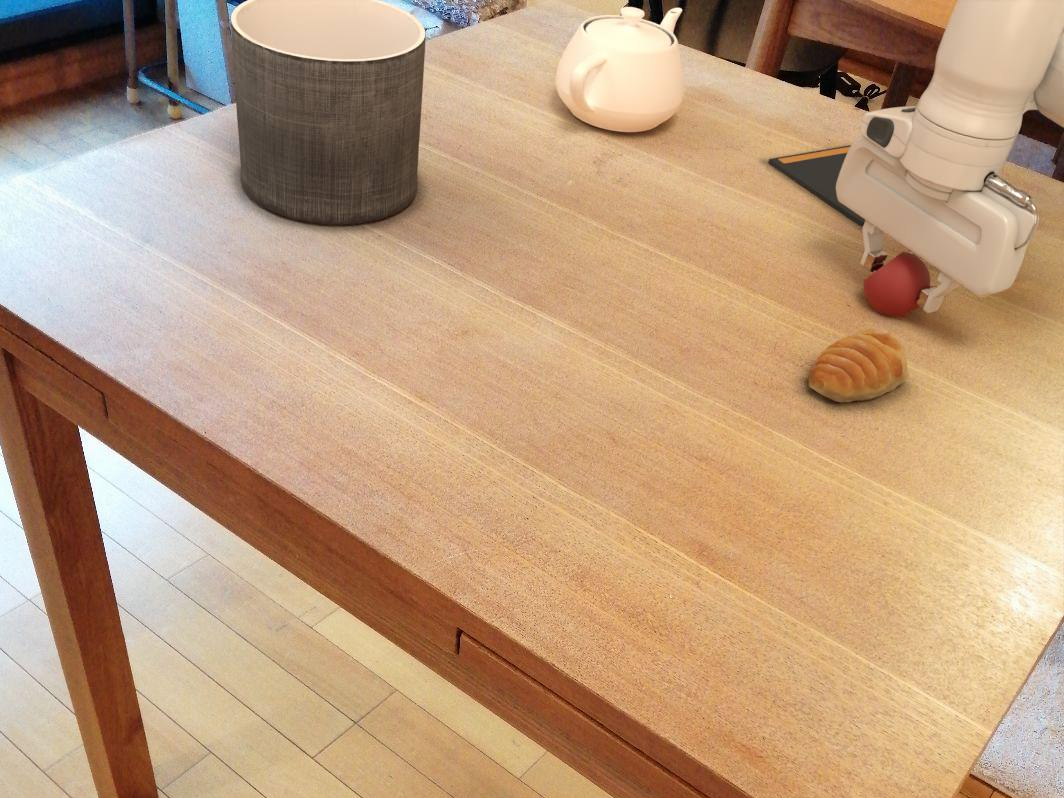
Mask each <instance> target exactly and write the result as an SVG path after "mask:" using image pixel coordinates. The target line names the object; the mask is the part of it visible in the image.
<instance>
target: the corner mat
mask: <svg viewBox="0 0 1064 798" xmlns="http://www.w3.org/2000/svg"><path fill="white" fill-rule="evenodd" d="M851 145H852V144H850V145H843V146H838V147H831V148H826V149H820V150H814V151H808V152H801V153H796V154H791V155H785V156H779V157H771V158H768V164H769V165H771V166H772V167H774V168H775V169H777V170H778V171H779V172H781V173H782V174H784V175H785V176H787V177H789V178H790V179H791V180H793V181H794V182H795V183H797V184H798V185H800V186H801V187H803V188H804V189H806V190H807V191H809V192H810V193H812V194H813V195H815V196H816V197H817V198H819V199H821V200H822V201H824V202H825V203H826V204H828V205H829V206H831V207H832V208H833V209H835V210H836V211H838V212H839V213H841V214H843V215H844V216H845V217H847V218H848V219H850V220H851V221H853V222H855V223H856V224H857V225H859V226H860V227H863V225H864V223H865V219H864V218H862V217H861V216H859V215H858V214H856V213H855V212H853V211H852V210H850V209H849V208H848V207H846V206H845V205H843V204H842V203H840V202H839V201H838V199H837V194H836V183H837V179H838V176H839V173H840V170H841V168H842V165H843V162H844V160H845V157H846V155H847V153H848V151H849V149H850V147H851Z"/></svg>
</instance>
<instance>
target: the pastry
mask: <svg viewBox="0 0 1064 798" xmlns="http://www.w3.org/2000/svg"><path fill="white" fill-rule="evenodd" d="M909 376H910V372H909V369H908V360H907V358H906V350H905V348H904V346H903V345H902V343H901V342H900V341H899V340H898V338H896V337H894V336H893V335H892V334H890V333H888V332H885V331H876V330H875V329H873V328H869V329H867V330H862V331H861V330H860V331H859V332H857V333H856V334H853V335H848V336H845V337H843V338H841V339H838V340H837V341H836V342H834V343H832V344H830V345H829V346H827V347H826V348H825V349H824V350H822V352H821V353H820V355H819V356H818V357H817V359H816V362H815V363H814V365H813V366H812V367H811V368H810V370H809V376H808V387H809V388H810V389H812V390H813V391H815V392H817V393H818V394H819V395H822V396H823V397H826V398H828V399H829V400H832V401H834V402H838V403H840V404H842V403H844V402H845V403H851V402H855V401H862V402H865V401H868V400H872V399H876V398H878V397H880V396H883V395H884V394H886V393H890V392H893V391H895V389H896V388H897V387H898V386H900V385H902V384H903V383H904V382H905V381H907V380H908V379H909Z"/></svg>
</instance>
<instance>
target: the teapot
mask: <svg viewBox="0 0 1064 798" xmlns="http://www.w3.org/2000/svg"><path fill="white" fill-rule="evenodd" d="M682 13H683V9H682V8H681V7H673V8H671V9H670V10H668V11H666V14H665V15H664V17H663V19H662V21H661V22H660V24H658V23H656V22H653V21H650V20H647V19H643V18H644V17H645V16H646V15H645V11H644V10H643V9H641V8H637V7H633V6H625V7H622V8H621V9H620V14H621V15H619V14H603V15H596V16H591V17H589V18H586V19H585V20H584V21H582V22H581V24H580V25H579V26H578V28H577V29H576V31H575V32H574V33H573V36H572V37H571V38H570V41H569V42H568V44H567V45H566V48H565V49H564V51H563V53H562V55H561V57H560V60H559V62H558V65H557V68H556V72H555V78H554V79H555V80H554V81H555V82H554V85H555V88H556V89H555V90H556V91H557V94H558V97H559V98H560V99H561V101H562V102H563V103H564V105H565V107H567V108H568V110H569V111H570V112H571V114H572V115H573V116H575V117H576V118H577V119H579V120H580V121H581V122H584V123H586V124H588V125H591V126H594V127H596V128H599V129H604V130H607V131H613V132H619V133H620V132H621V133H639V132H646V131H650V130H652V129H655V128H656V127H658V126H659V125H660V124H662V123H664V122H666V121H668V120H669V119H670V118H671V117H673V116H674V115H675V114H676V113H677V112H678V111H679V109H680V108H681V105H682V104H683V101H684V98H685V92H686V91H685V88H686V85H685V83H686V81H685V70H684V63H683V58H682V53H681V50H680V49H681V48H680V45H679V41H678V39H677V38H678V37H676V35H675V33H674V30H675V27H676V23H677V21H678V20H679V17H680V16H681V14H682Z"/></svg>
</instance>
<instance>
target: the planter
mask: <svg viewBox="0 0 1064 798" xmlns="http://www.w3.org/2000/svg"><path fill="white" fill-rule="evenodd" d="M229 20H230V34H231V48H232V49H231V51H232V63H233V77H234V91H235V104H236V106H235V107H236V118H237V119H236V120H237V134H238V147H239V149H238V150H239V160H240V167H239V168H240V169H239V170H240V171H239V172H240V183H241V187H242V189H243V190H244V192H245V193H246V195H247V196H248V197H249V198H250V199H251V200H252V201H253V202H255V203H256V204H258V205H259V206H261V207H262V208H265V209H266V210H268V211H270V212H272V213H275V214H277V215H280V216H283V217H286V218H288V219H293V220H297V221H302V222H307V223H312V224H313V223H314V224H322V225H355V224H357V225H358V224H365V223H371V222H375V221H379V220H382V219H386V218H389V217H391V216H394V215H395V214H397V213H400V212H401V211H403V210H404V209H406V208H407V207H408V206H409V205H411V203H412V202H413V201H414V199H415V198H416V196H417V194H418V193H417V192H418V166H419V155H420V154H419V152H420V137H421V136H420V135H421V124H422V123H421V122H422V105H423V104H422V103H423V90H424V89H423V87H424V73H425V72H424V71H425V56H426V41H427V31H426V28H425V26H424V24H423V23H422V22H421V21H420V20H419V19H418V18H417V17H416V16H414V15H413V14H411V13H410V12H408V11H406V10H404V9H402V8H401V7H398V6H396V5H393V4H392V3H388V2H385V1H382V0H245V1H243V2H242V3H240V4H238V5H237V6H236V7H235V8H234V9H233V10H232V12H231V14H230V19H229Z"/></svg>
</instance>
